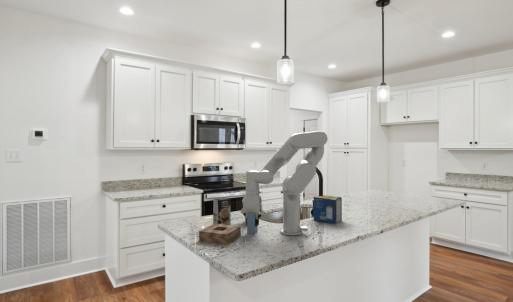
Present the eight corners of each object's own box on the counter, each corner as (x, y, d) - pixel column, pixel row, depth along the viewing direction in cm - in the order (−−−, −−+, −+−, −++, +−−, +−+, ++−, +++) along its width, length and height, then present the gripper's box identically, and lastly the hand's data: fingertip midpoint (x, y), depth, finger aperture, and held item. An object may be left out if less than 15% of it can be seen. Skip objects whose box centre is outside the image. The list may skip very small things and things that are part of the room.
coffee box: (218, 227, 174) (218, 200, 174) (212, 224, 179) (212, 198, 179) (231, 224, 180) (231, 198, 180) (225, 222, 185) (225, 197, 185)
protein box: (320, 217, 200) (320, 194, 199) (342, 221, 190) (342, 197, 190) (313, 220, 191) (313, 196, 191) (335, 224, 182) (335, 199, 182)
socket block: (240, 235, 158) (240, 226, 157) (227, 244, 143) (227, 234, 143) (214, 232, 163) (214, 223, 163) (199, 240, 148) (199, 231, 148)
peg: (257, 232, 164) (257, 211, 164) (254, 234, 160) (254, 212, 160) (250, 231, 165) (250, 210, 165) (247, 233, 161) (247, 211, 161)
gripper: (269, 192, 163) (268, 225, 163) (241, 190, 169) (241, 222, 169) (264, 194, 156) (264, 228, 156) (235, 192, 162) (235, 225, 162)
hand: (252, 225), depth 162 cm, fingers closed on peg, 4 cm apart
